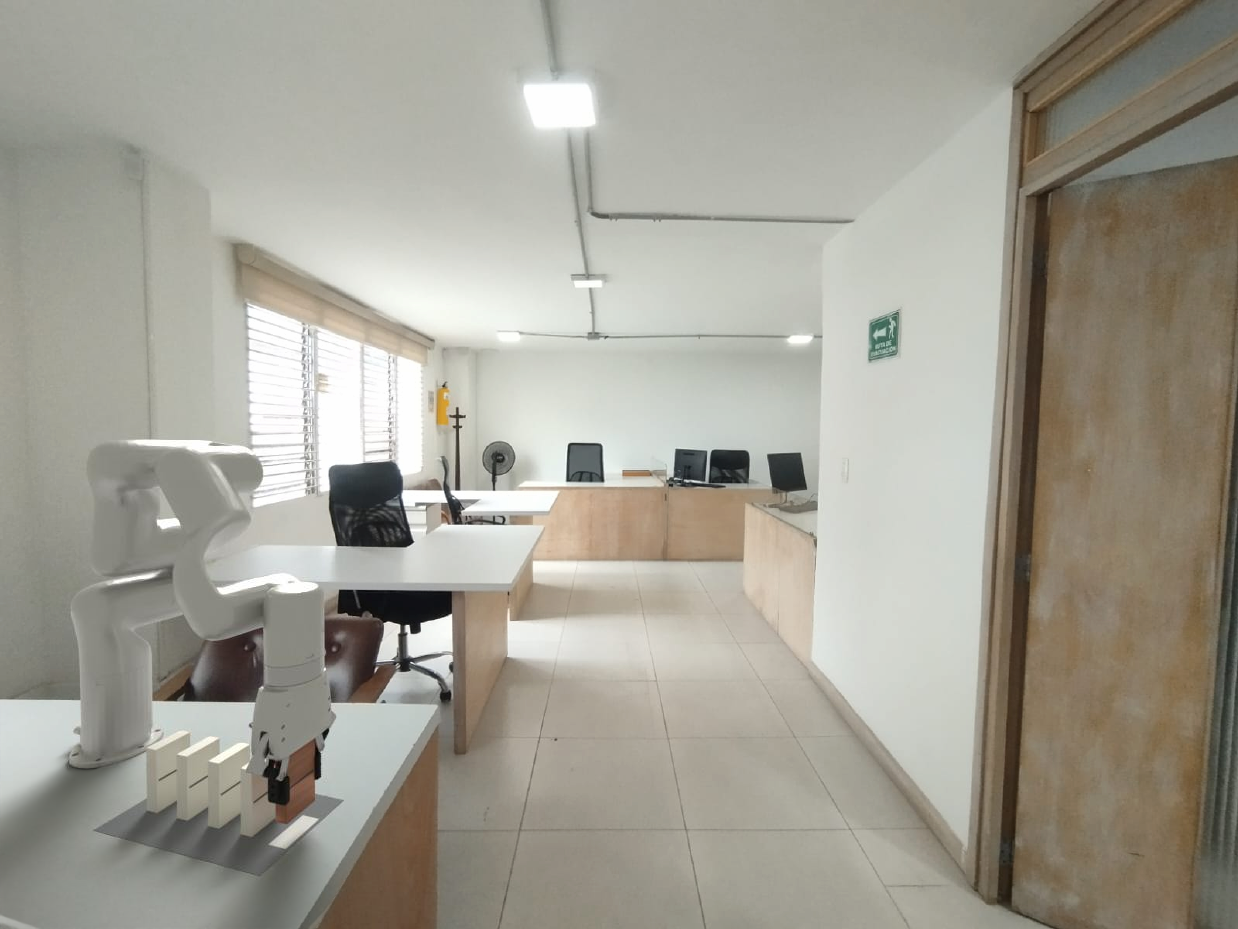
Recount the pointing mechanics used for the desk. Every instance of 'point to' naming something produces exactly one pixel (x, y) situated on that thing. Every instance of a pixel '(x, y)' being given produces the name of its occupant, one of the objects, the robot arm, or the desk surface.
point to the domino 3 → (226, 784)
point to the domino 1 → (164, 770)
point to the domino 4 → (255, 803)
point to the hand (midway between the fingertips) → (295, 788)
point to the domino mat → (217, 834)
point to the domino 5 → (298, 783)
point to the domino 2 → (194, 777)
